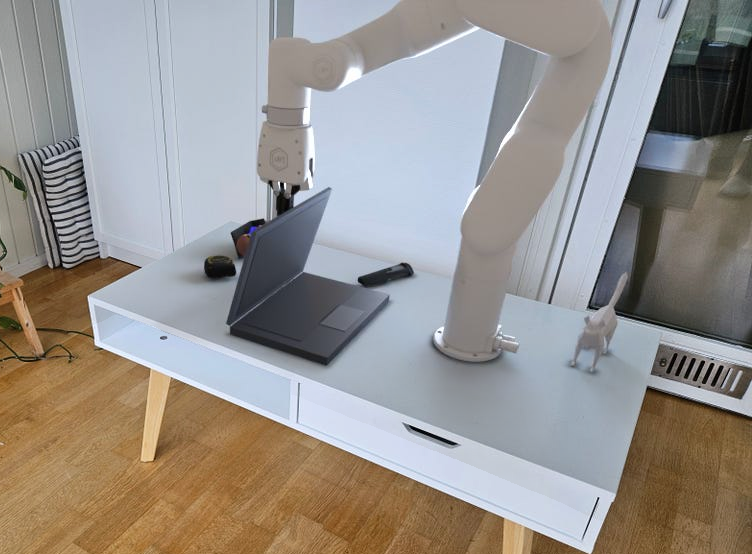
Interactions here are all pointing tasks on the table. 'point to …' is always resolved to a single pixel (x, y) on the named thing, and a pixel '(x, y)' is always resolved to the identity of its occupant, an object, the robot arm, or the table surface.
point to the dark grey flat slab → (311, 317)
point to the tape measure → (219, 267)
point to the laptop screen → (277, 254)
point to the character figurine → (244, 236)
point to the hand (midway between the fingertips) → (284, 215)
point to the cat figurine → (600, 327)
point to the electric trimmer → (386, 274)
